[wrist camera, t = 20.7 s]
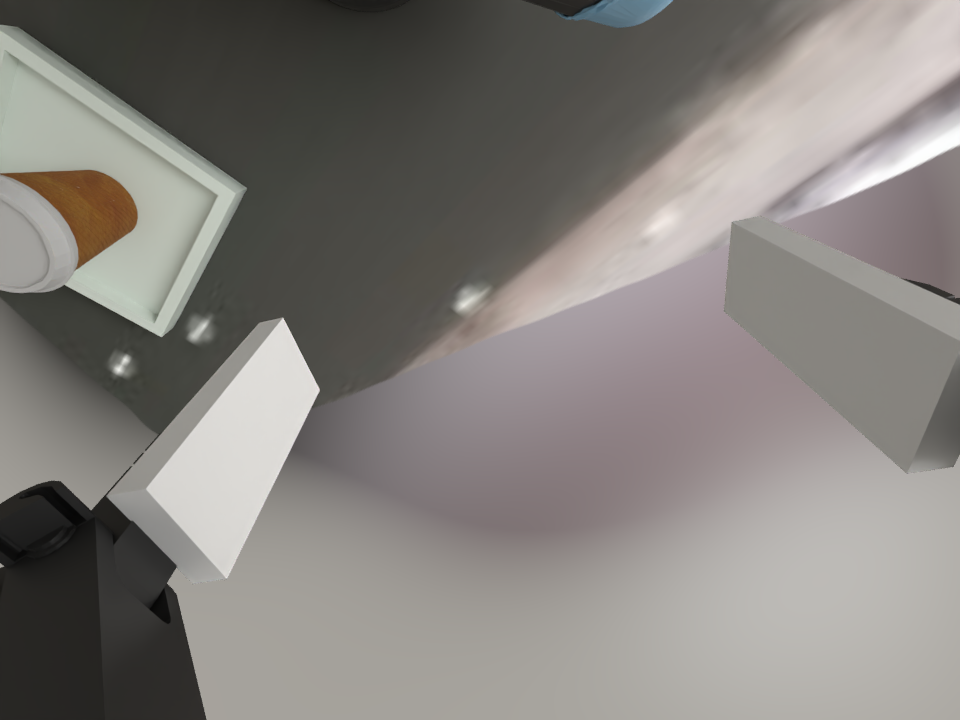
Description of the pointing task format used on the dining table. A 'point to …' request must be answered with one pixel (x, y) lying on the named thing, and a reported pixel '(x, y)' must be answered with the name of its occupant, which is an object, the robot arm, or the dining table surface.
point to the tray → (129, 160)
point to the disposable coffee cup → (57, 225)
